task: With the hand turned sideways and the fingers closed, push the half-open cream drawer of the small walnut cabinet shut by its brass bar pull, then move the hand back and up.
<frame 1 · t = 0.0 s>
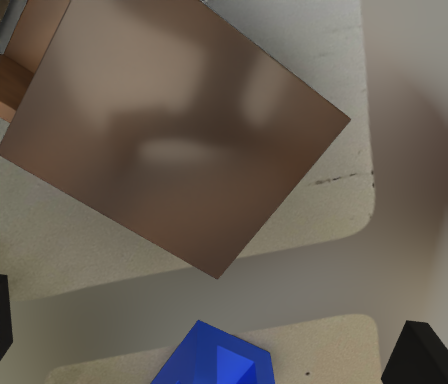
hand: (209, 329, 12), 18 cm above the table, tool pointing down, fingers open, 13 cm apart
cabinet: (186, 104, 27), on the table
drawer: (30, 15, 20), point 5 cm above the table, slide at 6.0 cm
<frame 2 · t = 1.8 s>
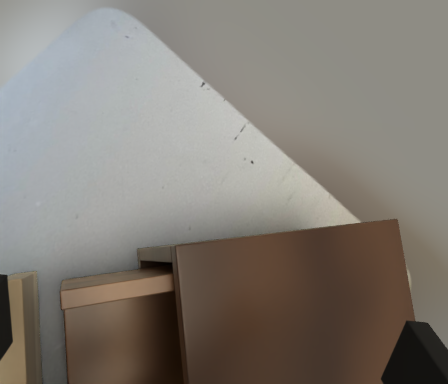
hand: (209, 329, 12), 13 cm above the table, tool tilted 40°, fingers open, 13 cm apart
cabinet: (237, 317, 27), on the table
drawer: (101, 369, 18), point 5 cm above the table, slide at 6.0 cm
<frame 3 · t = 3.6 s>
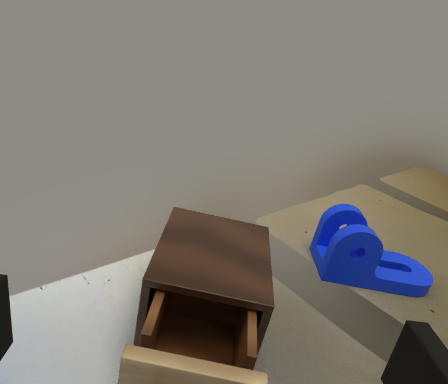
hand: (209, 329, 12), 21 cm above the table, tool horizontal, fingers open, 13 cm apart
bracket: (369, 273, 57), on the table
cabinet: (199, 317, 41), on the table
drawer: (194, 361, 30), point 5 cm above the table, slide at 6.0 cm
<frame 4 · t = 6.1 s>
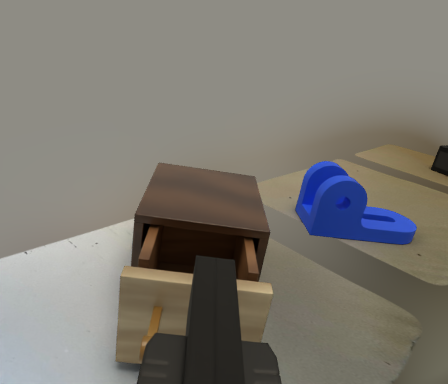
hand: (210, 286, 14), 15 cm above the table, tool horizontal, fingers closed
bracket: (355, 228, 58), on the table
cabinet: (193, 269, 41), on the table
drawer: (194, 292, 30), point 5 cm above the table, slide at 6.0 cm
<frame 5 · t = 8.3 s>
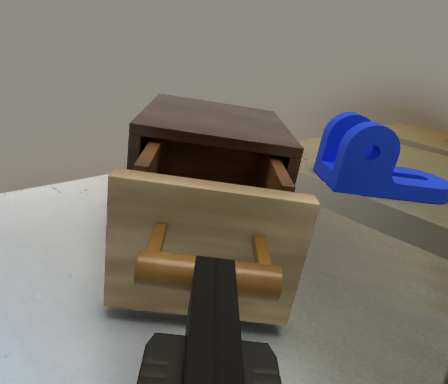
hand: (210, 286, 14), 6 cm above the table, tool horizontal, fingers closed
bracket: (382, 188, 51), on the table
cabinet: (202, 218, 34), on the table
drawer: (207, 221, 23), point 5 cm above the table, slide at 6.0 cm, touching gripper
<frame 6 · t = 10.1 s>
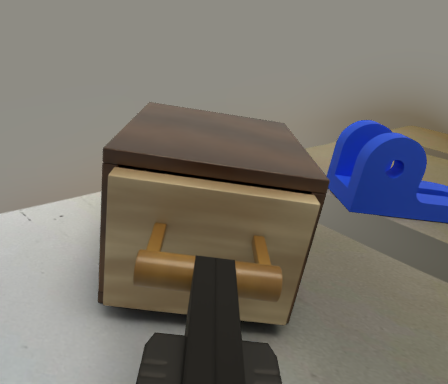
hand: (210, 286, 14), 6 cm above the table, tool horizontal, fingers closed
bracket: (403, 205, 46), on the table
cabinet: (199, 252, 28), on the table
drawer: (207, 221, 23), point 5 cm above the table, slide at 0.0 cm, touching cabinet, gripper
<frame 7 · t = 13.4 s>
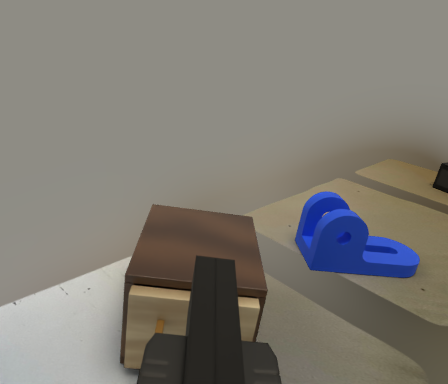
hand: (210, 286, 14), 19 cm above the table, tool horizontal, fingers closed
bracket: (357, 260, 57), on the table
cabinet: (189, 317, 39), on the table
drawer: (192, 305, 34), point 5 cm above the table, slide at 0.0 cm, touching cabinet
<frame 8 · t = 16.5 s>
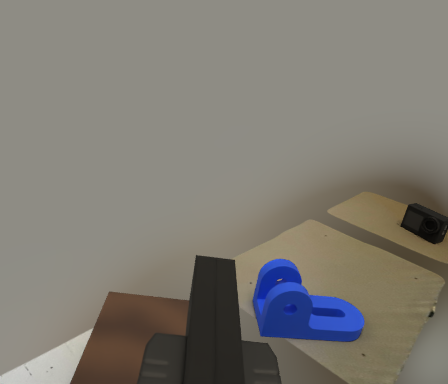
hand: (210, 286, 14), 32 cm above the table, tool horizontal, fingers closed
digital camera: (419, 234, 102), on the table
bracket: (308, 321, 61), on the table
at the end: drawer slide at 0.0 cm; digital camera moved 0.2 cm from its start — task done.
